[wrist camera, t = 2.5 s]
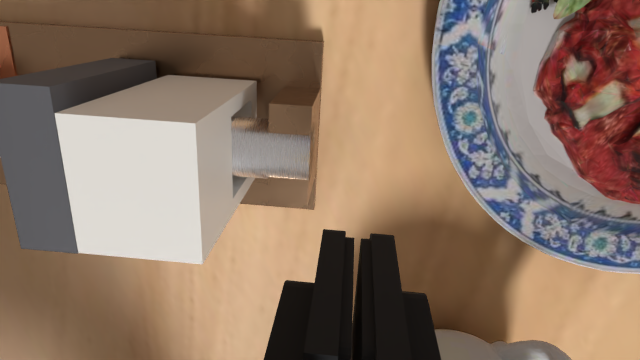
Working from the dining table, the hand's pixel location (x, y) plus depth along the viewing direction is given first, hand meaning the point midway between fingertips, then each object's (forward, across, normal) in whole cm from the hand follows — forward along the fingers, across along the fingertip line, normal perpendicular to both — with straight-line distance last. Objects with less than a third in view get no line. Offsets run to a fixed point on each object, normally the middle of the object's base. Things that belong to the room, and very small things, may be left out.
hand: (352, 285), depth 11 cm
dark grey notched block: (+15, +13, +1) cm, 20 cm away
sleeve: (+15, +8, +1) cm, 17 cm away
